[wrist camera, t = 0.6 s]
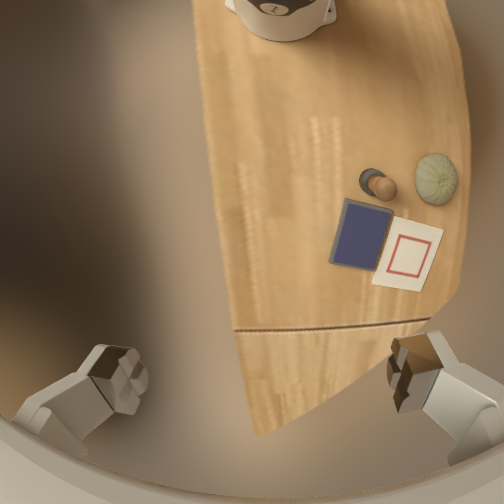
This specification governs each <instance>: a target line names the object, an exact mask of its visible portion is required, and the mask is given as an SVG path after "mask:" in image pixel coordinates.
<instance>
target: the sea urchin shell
mask: <svg viewBox="0 0 504 504" xmlns="http://www.w3.org/2000/svg"><path fill="white" fill-rule="evenodd" d="M457 184H458V178H457V174H456V170H455V168H454V166H453V163H452V162H451V161H450V160H449V159H448V157H447V156H445V155H443V154H435V153H433V154H431V155H427V156H425V157H424V158H423V159H421V160H420V161H419V163H418V164H417V167H416V172H415V185H416V190H417V192H418V194H419V196H420V197H421V198H422V199H423V200H425V202H428V203H431V204H433V205H442V204H444V203H446V202H447V201H448V200H449V199H450V198H451V196H452V195H453V193H454V192H455V189H456V186H457Z"/></svg>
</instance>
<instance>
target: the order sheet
mask: <svg viewBox="0 0 504 504" xmlns="http://www.w3.org/2000/svg"><path fill="white" fill-rule="evenodd" d="M443 231H444V230H443V229H440V228H436V227H433V226H429V225H426V224H422V223H419V222H415V221H412V220H408V219H404V218H400V217H397V216H394V217H393V220H392V224H391V227H390V230H389V234H388V237H387V240H386V243H385V246H384V249H383V252H382V255H381V258H380V261H379V264H378V267H377V270H376V273H375V275H374V278H373V281H372V284H375V285H381V286H387V287H393V288H399V289H406V290H412V291H418V292H420V291H421V289H422V287H423V284H424V282H425V279H426V277H427V275H428V272H429V270H430V267H431V264H432V262H433V259H434V257H435V254H436V251H437V248H438V246H439V243H440V240H441V237H442V234H443Z"/></svg>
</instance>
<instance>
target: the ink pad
mask: <svg viewBox="0 0 504 504" xmlns="http://www.w3.org/2000/svg"><path fill="white" fill-rule="evenodd" d="M391 214H392V210H391V209H387V208H384V207H380V206H376V205H372V204H368V203H364V202H359V201H355V200H351V199H347V198H345V199H344V203H343V207H342V212H341V216H340V220H339V224H338V227H337V231H336V235H335V239H334V243H333V246H332V250H331V253H330V257H329V263H331V264H336V265H342V266H347V267H353V268H358V269H364V270H369V271H374V268H375V265H376V262H377V260H378V257H379V254H380V251H381V247H382V244H383V241H384V238H385V235H386V232H387V228H388V225H389V221H390V218H391Z"/></svg>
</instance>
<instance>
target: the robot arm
mask: <svg viewBox="0 0 504 504" xmlns="http://www.w3.org/2000/svg"><path fill="white" fill-rule="evenodd" d="M225 4H226V7H227V9H229V10H230V11H232V12H233V13H235V14H237V15H238V17H239V18H240V20H241V21H242V23H243V24H244V26H245V27H246V28H247V29H248V30H250V31H251V32H252V33H254V34H256V35H257V36H259V37H262V38H265V39H268V40H273V41H293V40H298V39H301V38H304V37H306V36H308V35H310V34H311V33H313V32H314V31H315V30H316V29H318V28H319V27H320V26H323V25H327V24H330V23H333V22H335V21H336V18H337V14H336V7H335V1H334V0H226V2H225ZM328 10H330V11H331V12H328ZM391 350H392V352H393V354H392V355H391V356H390V357H389V358H388V363H387V379H388V382H389V386H390V387H391V388H392V389H394V390H395V393H394V396H393V399H394V402H395V406H396V409H397V413H398V414H399V413H403V412H409V411H413V410H418V409H422V408H423V411H424V412H425V413H427V414H428V415H429V416H430V417H431V418H432V419H433V420H434V421H435V422H437V423H438V424H439V425H440V426H441V427H442V428H443V429H444V430H445V431H447V432H448V433H449V434H450V435H451V436H452V437H453V438H454V439H455V440H457V441H458V443H457V444H456V445H455V446H454V448H453V449H452V450H451V451H450V452H449V454H448V455H447V459H448V463H449V467H448V468H445V469H442V470H440V471H437V472H434V473H431V474H428V475H425V476H422V477H418V478H415V479H412V480H408V481H405V482H401V483H397V484H393V485H388V486H384V487H380V488H375V489H370V490H365V491H358V492H352V493H345V494H338V495H329V496H318V497H305V498H250V497H235V496H224V495H216V494H207V493H201V492H194V491H189V490H183V489H178V488H173V487H169V486H164V485H160V484H156V483H152V482H148V481H144V480H140V479H137V478H134V477H130V476H127V475H124V474H121V473H118V472H115V471H112V470H109V469H106V468H104V467H101V466H99V465H96V464H93V463H91V462H88V461H86V460H84V459H85V457H86V455H87V453H88V450H87V448H86V447H85V446H84V445H83V444H82V443H81V442H80V440H82V439H83V438H84V437H85V436H86V435H88V434H89V433H90V432H91V431H92V430H94V429H95V428H96V427H97V426H99V425H100V424H101V423H102V422H103V421H105V420H106V419H107V418H108V417H109V416H111V415H112V414H113V413H114V411H115V412H120V413H125V414H130V415H134V414H135V411H136V409H137V407H138V405H139V403H140V398H139V395H140V394H142V393H143V392H145V390H146V388H147V386H148V378H149V377H148V373H147V370H146V368H145V366H144V365H143V364H142V363H140V362H139V359H140V356H139V354H138V352H137V350H136V349H133V348H127V347H119V346H111V345H110V346H109V345H102V344H99V345H97V346H96V347H95V348H94V349H93V351H92V352H91V353H90V355H89V356H88V357H87V358H86V360H85V361H84V363H83V364H82V365H81V367H80V368H79V369H78V371H77V372H76V373H71V374H70V375H68V376H66V377H64V378H63V379H61V380H59V381H57V382H56V383H54V384H52V385H50V386H49V387H47V388H45V389H43V390H42V391H39V392H38V393H36V394H34V395H33V396H31V397H29V398H27V400H26V401H25V403H24V404H23V405H22V407H21V408H20V410H19V411H18V412H17V414H16V415H15V417H14V418H13V420H12V421H10V420H9V419H7V418H6V417H4V416H3V415H1V414H0V504H504V386H503V385H501V384H500V383H498V382H497V381H495V380H493V379H491V378H489V377H488V376H486V375H484V374H482V373H481V372H479V371H477V370H475V369H474V368H472V367H470V366H468V365H466V364H464V363H460V364H459V362H458V361H457V359H456V357H455V355H454V353H453V352H452V350H451V348H450V347H449V345H448V343H447V342H446V340H445V338H444V337H443V335H442V334H441V332H440V331H439V330H433V331H428V332H424V333H419V334H414V335H408V336H403V337H397V338H394V339H393V341H392V345H391Z"/></svg>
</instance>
